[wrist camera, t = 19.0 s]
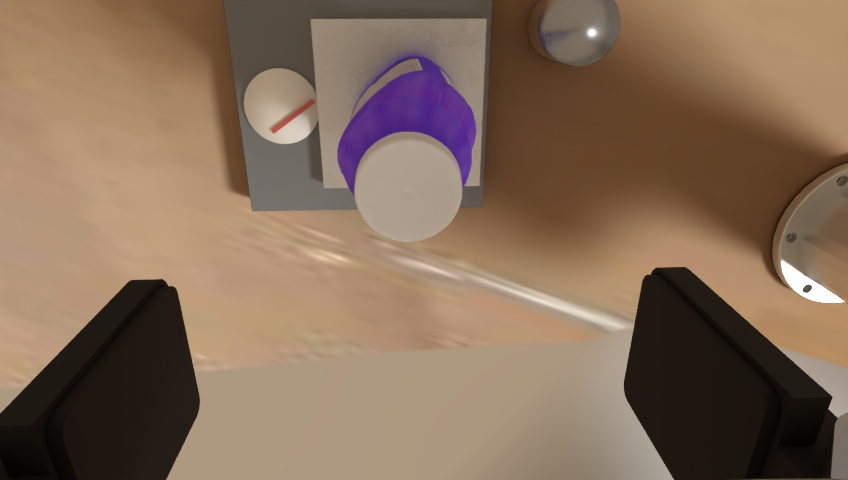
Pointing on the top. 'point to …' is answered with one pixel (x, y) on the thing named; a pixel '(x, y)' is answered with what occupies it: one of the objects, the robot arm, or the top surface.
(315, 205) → the scale
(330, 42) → the platform
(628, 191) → the top surface
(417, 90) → the bottle
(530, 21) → the cylinder
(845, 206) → the robot arm
